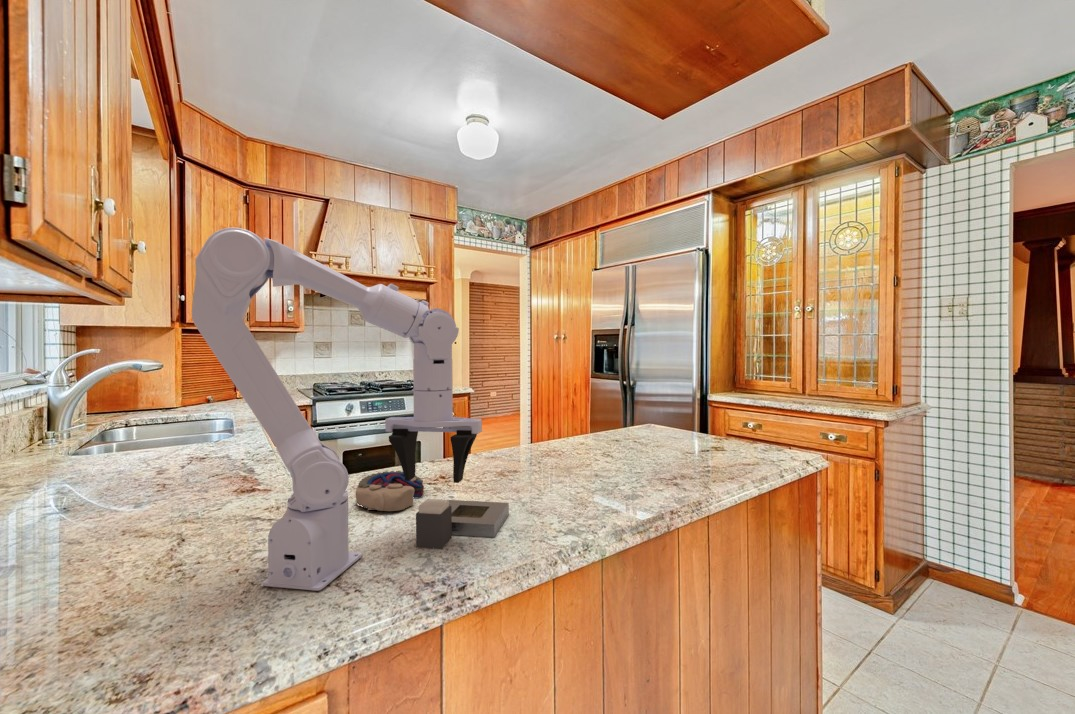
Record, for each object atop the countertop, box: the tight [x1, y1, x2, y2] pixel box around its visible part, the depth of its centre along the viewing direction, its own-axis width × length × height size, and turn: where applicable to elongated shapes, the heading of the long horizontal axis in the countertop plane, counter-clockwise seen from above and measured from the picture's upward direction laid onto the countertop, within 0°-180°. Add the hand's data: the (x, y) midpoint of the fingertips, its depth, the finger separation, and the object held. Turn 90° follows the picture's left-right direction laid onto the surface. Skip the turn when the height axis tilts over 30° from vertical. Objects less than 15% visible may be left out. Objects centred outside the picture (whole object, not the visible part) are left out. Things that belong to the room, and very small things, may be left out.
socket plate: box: [448, 499, 510, 538], centre depth 74 cm, size 10×11×3 cm
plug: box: [415, 498, 453, 550], centre depth 67 cm, size 4×4×6 cm
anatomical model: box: [355, 470, 425, 512], centre depth 86 cm, size 12×16×5 cm
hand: (433, 479), depth 67 cm, fingers open, 7 cm apart
